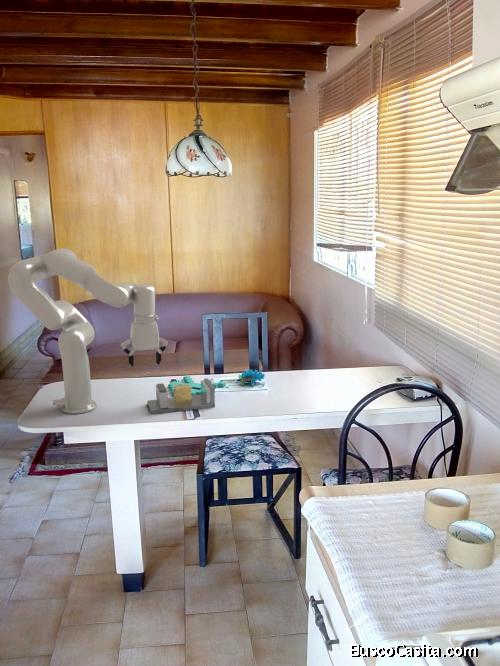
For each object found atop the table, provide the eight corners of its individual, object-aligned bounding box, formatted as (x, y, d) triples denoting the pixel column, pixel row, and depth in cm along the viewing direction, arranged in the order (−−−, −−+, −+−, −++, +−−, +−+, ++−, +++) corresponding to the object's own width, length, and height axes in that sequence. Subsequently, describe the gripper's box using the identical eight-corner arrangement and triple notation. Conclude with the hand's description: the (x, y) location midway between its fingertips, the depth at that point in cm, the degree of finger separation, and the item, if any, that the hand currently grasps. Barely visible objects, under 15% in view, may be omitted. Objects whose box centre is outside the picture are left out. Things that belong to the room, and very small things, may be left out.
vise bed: (151, 414, 204) (150, 393, 203) (147, 404, 215) (146, 384, 213) (214, 407, 211) (214, 387, 210) (208, 397, 222) (207, 378, 220)
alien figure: (186, 380, 244) (158, 394, 227) (186, 375, 244) (158, 389, 226) (225, 387, 235) (200, 402, 218) (225, 382, 234) (199, 396, 217)
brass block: (176, 404, 210) (175, 389, 209) (174, 400, 214) (173, 385, 213) (191, 402, 212) (191, 387, 211) (189, 398, 216) (189, 384, 214)
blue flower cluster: (267, 378, 240) (261, 367, 232) (266, 390, 237) (261, 380, 228) (242, 379, 242) (236, 369, 234) (241, 392, 239) (235, 381, 231)
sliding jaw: (160, 408, 206) (159, 391, 204) (156, 399, 215) (155, 383, 213) (168, 407, 206) (167, 390, 205) (164, 398, 216) (163, 382, 214)
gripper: (165, 315, 208) (165, 359, 212) (118, 318, 201) (119, 363, 206) (170, 320, 201) (170, 365, 205) (122, 322, 195) (123, 369, 199)
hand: (144, 364), depth 205 cm, fingers open, 9 cm apart
